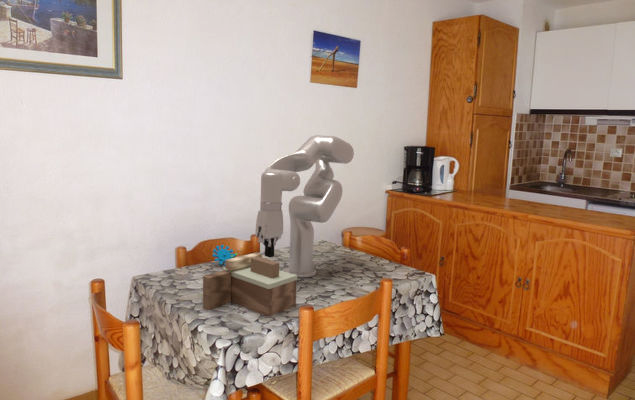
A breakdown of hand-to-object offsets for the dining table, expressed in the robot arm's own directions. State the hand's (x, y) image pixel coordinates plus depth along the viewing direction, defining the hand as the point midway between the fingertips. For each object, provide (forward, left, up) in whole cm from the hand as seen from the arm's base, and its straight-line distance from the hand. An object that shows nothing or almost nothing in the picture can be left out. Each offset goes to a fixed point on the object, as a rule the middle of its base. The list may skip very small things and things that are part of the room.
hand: (269, 256), depth 171 cm
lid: (+12, +7, -3) cm, 15 cm away
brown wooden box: (+17, +8, -12) cm, 22 cm away
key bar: (+12, 0, -1) cm, 12 cm away
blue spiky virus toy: (-8, -34, -12) cm, 37 cm away
